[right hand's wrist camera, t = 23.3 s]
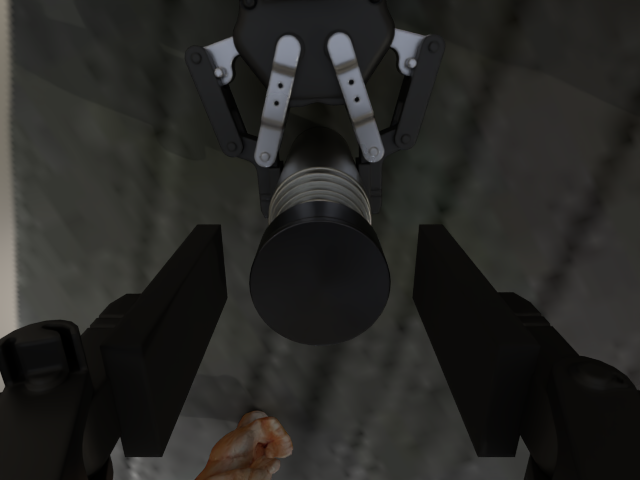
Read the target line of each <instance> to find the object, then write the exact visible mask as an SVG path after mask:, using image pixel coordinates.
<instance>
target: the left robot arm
mask: <svg viewBox="0 0 640 480" xmlns="http://www.w3.org/2000/svg"><path fill="white" fill-rule="evenodd" d="M389 48H390V49H392V50H393V51H394V52H395V54H396V68H397V71H398V72H399V73H400V74H402V75H405V76H404V79H403V83H402V86H401V90H400V93H399V97H398V100H397V104H396V107H395V111H394V114H393V118H392V121H391V125H390V127H389V128H386V129H384V130H381V131H378V128H377V125H376V122H375V118H374V113H373V110H372V107H371V104H370V100H369V97H368V94H367V91H366V88H365V85H366V83H367V82H368V80H369V78H370V77H371V75H372V74H373V72H374V71H375V69H376V68H377V66H378V65H379V63H380V62H381V60H382V59H383V57H384V56H385V54H386V52H387V51H388V49H389ZM444 50H445V41H444V39H443V38H442V37H441V36H440V35H437V34H432V35H427V36H423V35H419V34H415V33H412V32H408V31H404V30H400V29H396V28H395V25H394V21H393V19H392V17H391V15H390V13H389V11H388V8H387V4H386V0H239V15H238V19H237V22H236V25H235V27H234V30H233V37H230V38H227V39H225V40H222V41H219V42H217V43H214V44H211V45H209V46H206V47H201V46H191V47H189V48H188V49H187V50H186V52H185V61H186V64H187V66H188V69H189V71H190V74H191V76H192V78H193V81H194V83H195V86H196V88H197V91H198V93H199V95H200V98H201V100H202V103H203V105H204V107H205V110H206V112H207V115H208V117H209V120H210V122H211V124H212V127H213V129H214V132H215V134H216V137H217V139H218V141H219V144H220V146H221V149H222V151H223V152H224V154H225V155H227V156H229V157H239V158H242V159H246V160H248V161H250V162H252V163H253V164H254V165H255V167H256V169H257V175H258V184H259V194H260V204H261V211H262V213H263V215H264V217H265V218H268V212H269V205H270V202H271V199H272V196H273V193H274V191H275V188H276V186H277V183H278V180H279V178H280V175H281V173H282V170H283V167H284V166H283V161H279V151H280V147H281V143H282V138H283V134H284V130H285V126H286V123H287V119H288V115H289V111H290V107H303V106H306V105H309V104H312V103H315V102H320V103H324V104H328V105H345V108H346V110H347V113H348V116H349V119H350V122H351V124H352V127H353V130H354V133H355V136H356V139H357V142H358V145H359V157H357V158H356V168H357V170H358V173H359V175H360V178H361V181H362V183H363V186H364V188H365V191H366V193H367V196H368V199H369V202H370V206H371V214H378V213H379V211H380V208H381V206H382V163H383V161H384V159H385V158H386V157H387V156H388V155H390V154H392V153H394V152H396V151H399V150H401V149H402V150H408V149H410V148H412V147H413V146H414V145H415V143H416V140H417V137H418V134H419V131H420V127H421V124H422V121H423V118H424V114H425V111H426V108H427V105H428V102H429V98H430V95H431V92H432V89H433V85H434V82H435V79H436V76H437V73H438V69H439V66H440V63H441V60H442V57H443V53H444ZM239 56H241V57H242V58H243V60H244V61H245V62H246V63H247V65H248V66H249V67H250V69H251V70H252V71H253V72H254V74H255V75H256V76H257V77H258V79H259V80H260V81H261V82H262V84H263V85H264V86H265V87H266V89H267V94H266V99H265V104H264V108H263V113H262V118H261V126H260V131H259V136H258V137H256V136H253V135H250V134H247V131H246V129H245V126H244V123H243V121H242V118H241V116H240V113H239V110H238V108H237V105H236V103H235V100H234V97H233V95H232V92H231V90H230V87H229V83H231V82H233V80H234V79H235V76H236V72H235V61H236V59H237V58H238V57H239Z"/></svg>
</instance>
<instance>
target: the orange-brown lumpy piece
mask: <svg viewBox="0 0 640 480" xmlns="http://www.w3.org/2000/svg"><path fill="white" fill-rule="evenodd" d="M292 449H293V446H292V441H291V439H290V437H289V435H288V434H287V432H286V431H285V430H284V428H283V427H282V425H281V424H280V422H279V421H278V420H277V419H276V418H275V417H268V416H267V415H266V414H265V413H264V412H261V411H252V412H249V413H246V414H245V415H244V416H243V417H242V419H241V420H240V422H239V424H238V427H237V428H236V430H234V431H232V432H230V433H228V434H227V435H225V436H224V437H223V438H222V439H220V440H219V441H218V442H217V443H216V445H215V446H214V447H213V449H212V451H211V454H210V457H209V460H208V462H207V465H206V467H205V468H204V470H203V471H202V472H201V473H200V474H199V475H198V476H197V477H196V479H195V480H271V477H272V474H273V473H275V472H276V471H278V469H279V467H280V460H278V459H276V458H274V457H279V458H285V457H287V456H289V455H292Z"/></svg>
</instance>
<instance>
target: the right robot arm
mask: <svg viewBox="0 0 640 480" xmlns="http://www.w3.org/2000/svg"><path fill="white" fill-rule="evenodd" d="M226 300H227V288H226V277H225V266H224V255H223V244H222V234H221V225H197V226H196V227H195V228H194V229H193V231H192V232H191V233H190V234H189V236H188V237H187V238H186V239H185V241H184V242H183V243H182V244H181V246H180V247H179V248H178V249H177V250H176V252H175V253H174V254H173V255H172V257H171V258H170V259H169V260H168V262H167V263H166V264H165V265H164V267H163V268H162V269H161V270H160V271H159V273H158V274H157V275H156V276H155V278H154V279H153V280H152V281H151V283H150V284H149V285H148V286H147V288H146V289H145V290H144V291H143V293H142V294H126V295H124V296H122V297H121V298H119V299H117V300H115V301H114V302H112V303H110V304H109V305H108V306H107V307H106V309H105V310H104V311H103V312H102V313H101V314H100V315H99V318H96V320H95V321H94V322H93V323H92V324H91V325H90V328H87V329H86V330H85V332H84V333H83V334H82V335H81V336H80V332H79V328H78V326H77V325H76V324H74V323H73V322H71V321H65V320H49V321H42V322H38V323H34V324H30V325H27V326H25V327H22V328H20V329H17V330H15V331H13V332H11V333H9V334H8V335H6V336H4V337H3V338H1V339H0V372H1V375H2V378H3V381H4V384H5V388H4V390H3V392H1V393H0V480H113V465H112V461H111V457H110V454H111V452H112V450H113V449H114V447H115V445H116V443H117V441H118V439H119V438H120V437H121V442H122V446H123V450H124V455H125V457H162V456H163V453H164V451H165V448H166V446H167V444H168V441H169V439H170V436H171V434H172V431H173V429H174V427H175V424H176V422H177V419H178V417H179V414H180V412H181V410H182V407H183V405H184V402H185V400H186V397H187V395H188V393H189V390H190V388H191V385H192V383H193V380H194V378H195V376H196V373H197V371H198V368H199V366H200V363H201V361H202V359H203V356H204V354H205V351H206V349H207V346H208V344H209V342H210V339H211V337H212V334H213V332H214V329H215V327H216V325H217V322H218V320H219V317H220V315H221V312H222V310H223V308H224V305H225V303H226ZM413 300H414V303H415V305H416V308H417V310H418V312H419V315H420V317H421V320H422V322H423V325H424V327H425V329H426V332H427V334H428V337H429V339H430V342H431V344H432V346H433V349H434V351H435V354H436V356H437V359H438V361H439V363H440V366H441V368H442V371H443V373H444V376H445V378H446V380H447V383H448V385H449V388H450V390H451V393H452V395H453V397H454V400H455V402H456V405H457V407H458V410H459V412H460V414H461V417H462V419H463V422H464V424H465V427H466V429H467V431H468V434H469V436H470V439H471V441H472V444H473V446H474V448H475V451H476V453H477V456H478V457H515V455H516V450H517V446H518V442H519V437H520V435H521V437H522V439H523V441H524V443H525V444H526V446H527V448H528V450H529V452H530V457H529V461H528V465H527V469H526V473H525V477H524V480H640V391H639V390H637V389H636V387H635V385H634V384H633V383H632V382H631V381H630V379H629V378H628V377H627V376H626V375H625V374H623V373H622V372H620V371H619V370H618V369H616V368H615V367H613V366H610V365H608V364H606V363H604V362H602V361H600V360H596V359H592V358H589V357H585V356H579V355H578V354H577V352H576V351H575V350H574V349H573V348H572V347H571V346H570V345H569V344H568V343H567V342H566V340H565V339H564V338H563V337H562V336H561V335H560V334H559V333H558V332H557V331H556V330H555V329H554V327H553V326H550V323H549V322H548V321H547V320H546V319H545V318H544V317H543V316H541V313H540V312H539V311H538V310H537V309H536V308H535V307H534V306H533V305H532V303H531V302H529V301H527V300H526V299H524V298H522V297H520V296H519V295H517V294H515V293H514V292H497V291H496V290H495V289H494V288H493V286H492V285H491V284H490V283H489V281H488V280H487V279H486V278H485V276H484V275H483V274H482V273H481V271H480V270H479V269H478V268H477V267H476V265H475V264H474V263H473V262H472V260H471V259H470V258H469V257H468V255H467V254H466V253H465V252H464V250H463V249H462V248H461V247H460V246H459V244H458V243H457V242H456V241H455V239H454V238H453V237H452V236H451V234H450V233H449V232H448V231H447V229H446V228H445V227H444V226H443V225H419V234H418V244H417V255H416V266H415V277H414V288H413Z"/></svg>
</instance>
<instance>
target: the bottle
mask: <svg viewBox="0 0 640 480" xmlns="http://www.w3.org/2000/svg"><path fill="white" fill-rule="evenodd" d="M310 201H331V202H335V203H339V204H342V205H345V206H347V207H349V208H351V209H353V210H355V211H356V212H358V213H359V214H360V215H362V216H363V217H364V218H365V219H366V220H367V221H368V222H369V224H370V225H371V224H372V214H371V206H370V202H369V199H368V196H367V193H366V191H365V188H364V186H363V183H362V181H361V178H360V175H359V173H358V170H357V168H356V165H355V162H354V160H353V157H352V155H351V152H350V149H349V147H348V145H347V143H346V141H345V140H344V138H343V137H342V136H341V135H340V134H339V133H337V132H336V131H334V130H332V129H329V128H324V127H316V128H311V129H309V130H306V131H304V132H303V133H302V134H300V135H299V136H298V137H297V138H296V140H295V141H294V143H293V145H292V147H291V149H290V152H289V155H288V157H287V160H286V162H285V165H284V167H283V170H282V173H281V175H280V178H279V180H278V183H277V186H276V188H275V191H274V193H273V196H272V199H271V202H270V205H269V212H268V225H270V223H271V222H272V221H273V220H274V219H275V218H276V217H277V216H278V215H280V214H281V213H282V212H284V211H285V210H287V209H289V208H290V207H293V206H295V205H297V204H301V203H304V202H310Z"/></svg>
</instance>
